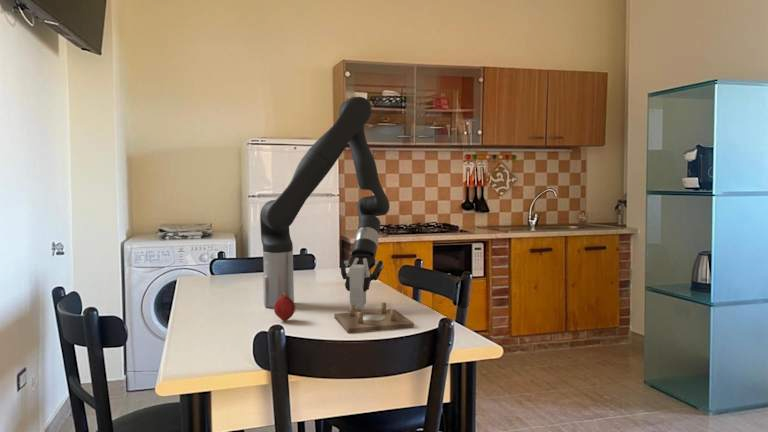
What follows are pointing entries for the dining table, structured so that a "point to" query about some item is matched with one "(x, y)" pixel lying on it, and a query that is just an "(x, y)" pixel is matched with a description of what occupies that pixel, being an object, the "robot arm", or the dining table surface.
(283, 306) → the onion
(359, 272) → the skincare box
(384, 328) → the standoff plate
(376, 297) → the dining table surface
